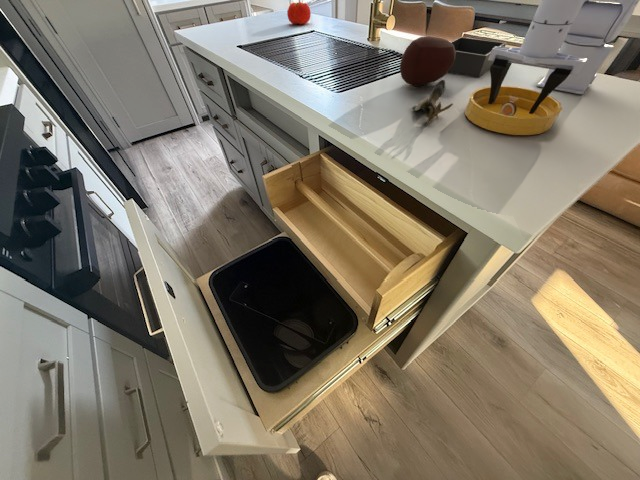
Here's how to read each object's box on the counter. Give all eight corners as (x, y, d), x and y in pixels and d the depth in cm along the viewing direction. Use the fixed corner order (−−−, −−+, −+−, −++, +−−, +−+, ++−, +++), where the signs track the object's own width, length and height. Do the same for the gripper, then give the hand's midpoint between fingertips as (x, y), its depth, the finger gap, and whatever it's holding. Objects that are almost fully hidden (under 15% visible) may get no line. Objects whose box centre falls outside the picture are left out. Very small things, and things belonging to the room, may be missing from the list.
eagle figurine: (458, 120, 53) (450, 94, 58) (448, 90, 49) (441, 65, 53) (419, 137, 57) (415, 112, 62) (407, 112, 53) (403, 86, 57)
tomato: (286, 22, 130) (284, 2, 125) (308, 20, 132) (307, 0, 126) (290, 27, 123) (288, 5, 118) (313, 24, 125) (312, 3, 119)
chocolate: (516, 117, 55) (527, 97, 52) (509, 120, 54) (520, 99, 51) (503, 112, 57) (512, 92, 54) (496, 115, 56) (505, 94, 53)
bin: (498, 63, 79) (506, 42, 75) (478, 77, 72) (486, 56, 68) (454, 56, 85) (460, 36, 81) (432, 68, 78) (437, 48, 74)
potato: (455, 89, 67) (471, 39, 59) (406, 96, 65) (416, 44, 58) (434, 75, 74) (445, 28, 66) (389, 80, 73) (395, 33, 65)
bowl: (559, 115, 56) (570, 97, 53) (537, 146, 48) (549, 127, 46) (481, 97, 63) (487, 80, 61) (451, 121, 56) (457, 104, 53)
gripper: (497, 21, 45) (467, 104, 55) (602, 31, 39) (546, 124, 49) (511, 14, 49) (480, 94, 59) (610, 22, 42) (556, 111, 52)
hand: (511, 107), depth 54 cm, fingers open, 7 cm apart
